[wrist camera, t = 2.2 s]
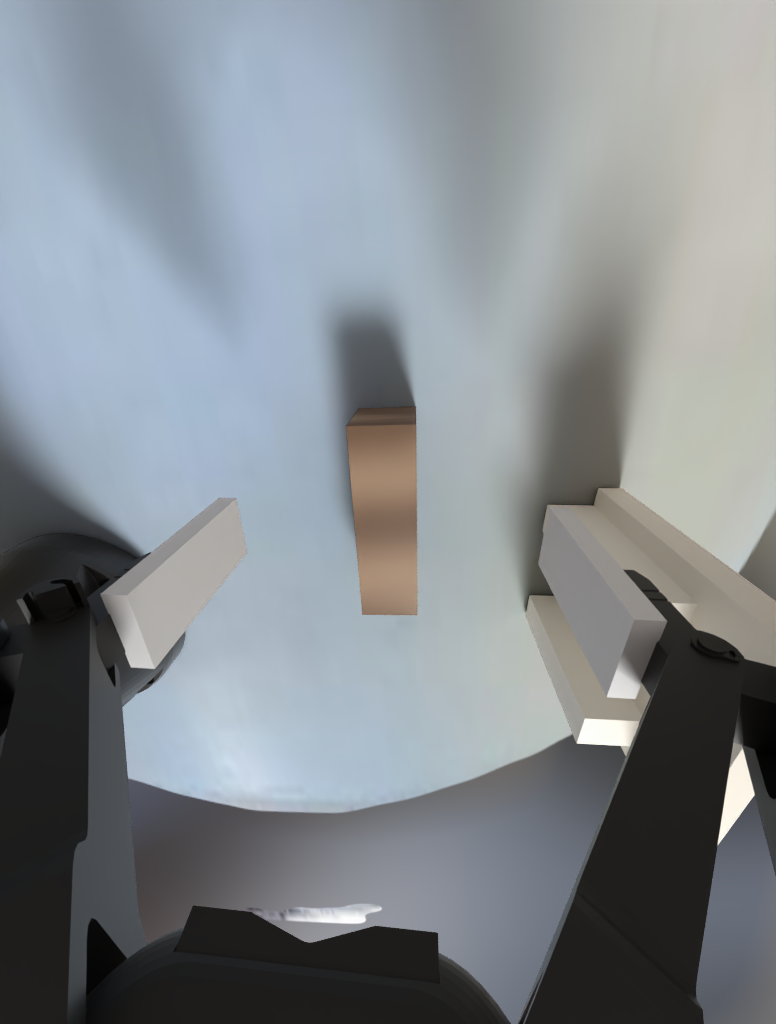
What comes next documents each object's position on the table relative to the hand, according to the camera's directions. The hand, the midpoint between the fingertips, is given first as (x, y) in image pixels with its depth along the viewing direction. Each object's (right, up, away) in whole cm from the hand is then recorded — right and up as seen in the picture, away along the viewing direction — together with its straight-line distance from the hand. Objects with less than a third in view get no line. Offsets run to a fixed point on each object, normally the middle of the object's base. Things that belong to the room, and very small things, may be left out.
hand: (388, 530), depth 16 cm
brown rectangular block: (0, +2, +10) cm, 10 cm away
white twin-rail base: (+12, -3, +11) cm, 17 cm away
